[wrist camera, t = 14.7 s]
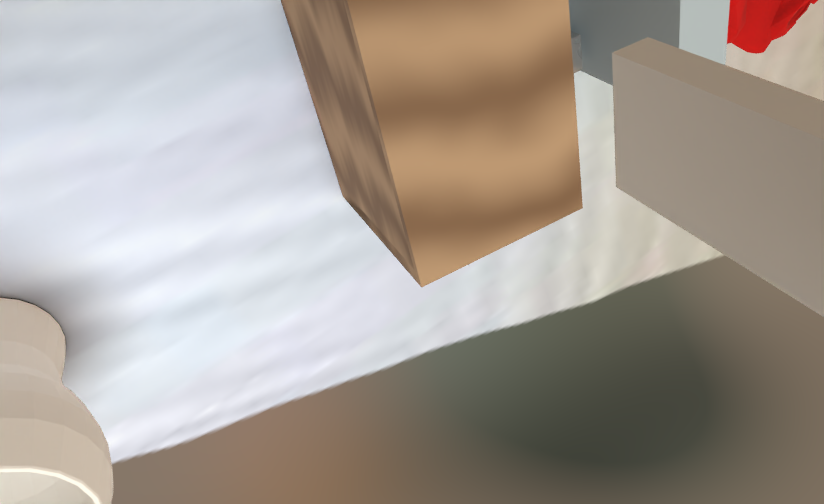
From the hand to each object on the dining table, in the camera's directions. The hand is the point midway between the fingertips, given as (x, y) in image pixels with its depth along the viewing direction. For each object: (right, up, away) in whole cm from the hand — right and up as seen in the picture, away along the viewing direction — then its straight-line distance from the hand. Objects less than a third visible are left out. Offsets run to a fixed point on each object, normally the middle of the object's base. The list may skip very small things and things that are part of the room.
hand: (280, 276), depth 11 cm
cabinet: (0, +14, +33) cm, 36 cm away
